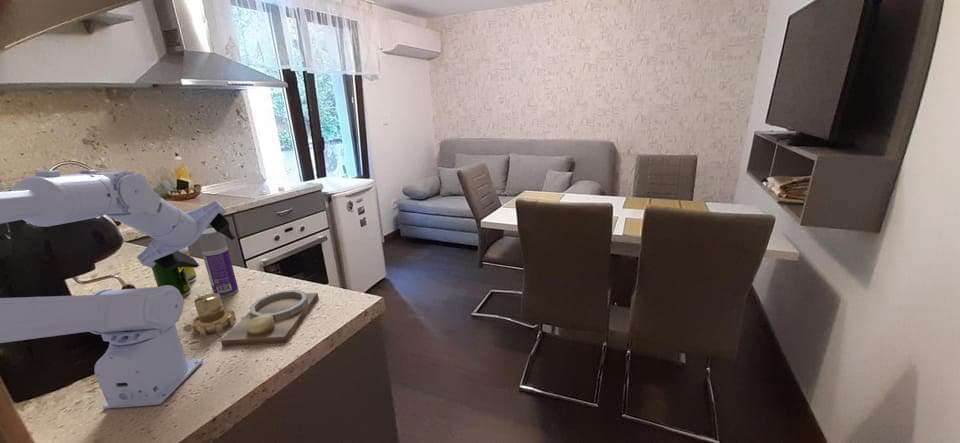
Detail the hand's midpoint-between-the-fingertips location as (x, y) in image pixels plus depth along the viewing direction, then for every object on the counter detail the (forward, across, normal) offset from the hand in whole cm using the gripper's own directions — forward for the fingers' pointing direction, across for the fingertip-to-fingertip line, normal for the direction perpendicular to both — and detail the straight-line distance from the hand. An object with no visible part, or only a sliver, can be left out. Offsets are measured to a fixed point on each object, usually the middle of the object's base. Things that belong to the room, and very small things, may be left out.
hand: (213, 249), depth 72 cm
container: (+17, +7, -1) cm, 18 cm away
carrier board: (+6, +1, +17) cm, 18 cm away
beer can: (+17, +15, -9) cm, 24 cm away
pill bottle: (+22, +15, -15) cm, 30 cm away
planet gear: (+6, +10, +10) cm, 15 cm away
